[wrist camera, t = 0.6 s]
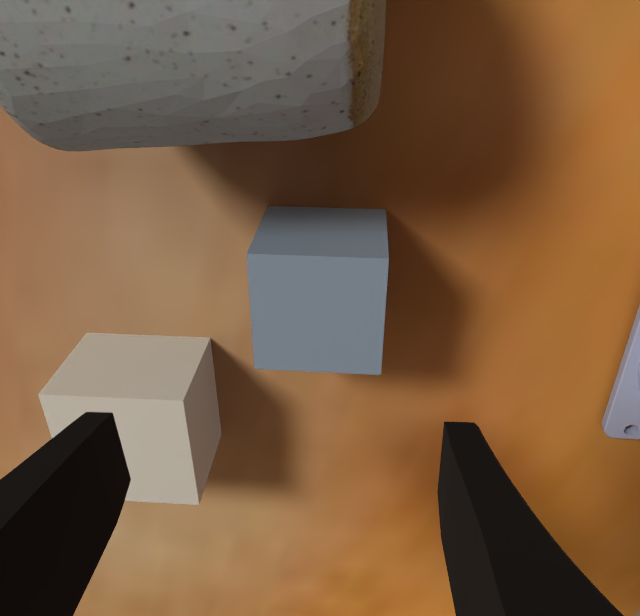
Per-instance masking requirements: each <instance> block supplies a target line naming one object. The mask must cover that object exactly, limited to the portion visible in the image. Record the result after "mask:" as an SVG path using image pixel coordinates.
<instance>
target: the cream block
mask: <svg viewBox="0 0 640 616" xmlns="http://www.w3.org/2000/svg"><path fill="white" fill-rule="evenodd" d="M38 395H39V398H40V401H41V405H42V408H43V411H44V414H45V417H46V420H47V424H48V427H49V430H50V433H51V436H52V438H54V437H55V436H56V435H57V434H58V433H60V432H61V431H62V430H63V429H65V428H66V427H67V426H68V425H70V424H71V423H72V422H73V421H75V420H76V419H77V418H79V417H80V416H81V415H83V414H84V413H85V412H110V413H113V416H114V419H115V423H116V427H117V430H118V434H119V438H120V441H121V445H122V448H123V452H124V456H125V459H126V463H127V467H128V470H129V474H130V478H131V481H130V485H129V488H128V491H127V494H126V498H125V501H140V502H158V503H176V504H194V505H199V504H200V501H201V498H202V495H203V491H204V488H205V485H206V482H207V479H208V476H209V473H210V469H211V466H212V463H213V460H214V457H215V454H216V451H217V447H218V444H219V441H220V438H221V435H222V433H221V424H220V416H219V407H218V399H217V390H216V382H215V373H214V365H213V356H212V347H211V339H210V338H205V337H179V336H154V335H128V334H102V333H86V334H85V335H84V337H83V338H82V339H81V340H80V342H79V343H78V344H77V346H76V347H75V348H74V349H73V351H72V352H71V353H70V355H69V356H68V357H67V358H66V360H65V361H64V362H63V363H62V365H61V366H60V367H59V369H58V370H57V371H56V372H55V374H54V375H53V376H52V378H51V379H50V380H49V381H48V383H47V384H46V385H45V386H44V388H43V389H42V390H41V392H40V393H39V394H38Z"/></svg>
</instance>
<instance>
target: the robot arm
mask: <svg viewBox="0 0 640 616" xmlns="http://www.w3.org/2000/svg"><path fill="white" fill-rule="evenodd" d="M629 425H633V426H632V427H630V428H626V427H627V426H629ZM602 428H603V430H604V432H605V434H606V435H607V436H608V437H611V438H622V439H640V305H639V308H638V311H637V315H636V318H635V321H634V324H633V327H632V330H631V333H630V336H629V339H628V342H627V346H626V349H625V352H624V355H623V358H622V361H621V364H620V367H619V370H618V374H617V377H616V380H615V383H614V386H613V389H612V392H611V395H610V398H609V401H608V405H607V408H606V411H605V414H604V417H603V420H602ZM130 481H131V478H130V474H129V470H128V467H127V463H126V459H125V456H124V452H123V448H122V445H121V441H120V438H119V434H118V430H117V427H116V423H115V419H114V416H113V413H110V412H85V413H84V414H83V415H81V416H80V417H79V418H77V419H76V420H75V421H73V422H72V423H71V424H70V425H68V426H67V427H66V428H65V429H63V430H62V431H61V432H60V433H58V434H57V435H56V436H55V437H54V438H52V439H51V440H50V441H49V442H47V443H46V444H45V445H44V446H42V447H41V448H40V449H39V450H37V451H36V452H35V453H34V454H32V455H31V456H30V457H29V458H27V459H26V460H25V461H24V462H22V463H21V464H20V465H19V466H17V467H16V468H15V469H14V470H12V471H11V472H10V473H9V474H7V475H6V476H5V477H3V478H2V479H1V480H0V616H73V614H74V612H75V610H76V608H77V606H78V604H79V602H80V600H81V598H82V596H83V593H84V591H85V589H86V587H87V585H88V583H89V581H90V579H91V577H92V575H93V573H94V571H95V569H96V567H97V564H98V562H99V560H100V558H101V556H102V554H103V552H104V550H105V548H106V545H107V543H108V541H109V539H110V537H111V535H112V533H113V531H114V528H115V526H116V524H117V521H118V518H119V515H120V513H121V510H122V507H123V504H124V501H125V498H126V494H127V491H128V488H129V485H130ZM438 502H439V516H440V528H441V539H442V544H443V550H444V555H445V560H446V566H447V571H448V576H449V581H450V587H451V592H452V597H453V602H454V608H455V613H456V616H623V615H622V614H621V613H620V612H619V611H618V610H617V609H616V608H615V607H614V606H613V605H612V604H611V603H610V602H609V600H608V599H607V598H606V597H605V596H604V595H603V594H602V593H601V592H600V591H599V590H598V589H597V588H596V587H595V586H594V585H593V584H592V583H591V582H590V580H589V579H588V578H587V577H586V576H585V575H584V574H583V573H582V572H581V571H580V569H579V568H578V567H577V566H576V565H575V564H574V563H573V562H572V560H571V559H570V558H569V557H568V556H567V555H566V553H565V552H564V551H563V550H562V549H561V547H560V546H559V545H558V544H557V543H556V541H555V540H554V539H553V538H552V536H551V535H550V534H549V532H548V531H547V530H546V529H545V527H544V526H543V525H542V524H541V522H540V521H539V520H538V518H537V517H536V516H535V514H534V513H533V512H532V510H531V509H530V508H529V506H528V505H527V503H526V502H525V500H524V499H523V498H522V496H521V495H520V493H519V492H518V490H517V489H516V488H515V486H514V485H513V483H512V482H511V480H510V479H509V477H508V476H507V474H506V473H505V471H504V470H503V468H502V466H501V465H500V463H499V462H498V460H497V459H496V457H495V455H494V454H493V452H492V450H491V449H490V447H489V445H488V443H487V442H486V440H485V438H484V436H483V434H482V433H481V431H480V429H479V427H478V426H477V425H476V424H475V423H469V422H444V430H443V441H442V451H441V462H440V472H439V483H438Z"/></svg>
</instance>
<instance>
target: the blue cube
mask: <svg viewBox="0 0 640 616" xmlns="http://www.w3.org/2000/svg"><path fill="white" fill-rule="evenodd" d="M388 265H389V252H388V235H387V218H386V209H361V208H326V207H291V206H268V207H267V210H266V212H265V214H264V216H263V218H262V221H261V223H260V225H259V227H258V230H257V232H256V234H255V236H254V239H253V241H252V243H251V245H250V247H249V250H248V252H247V266H248V281H249V296H250V311H251V326H252V341H253V356H254V369H267V370H288V371H309V372H329V373H350V374H371V375H381V367H382V353H383V338H384V323H385V309H386V294H387V279H388Z"/></svg>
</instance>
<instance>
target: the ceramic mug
mask: <svg viewBox="0 0 640 616" xmlns="http://www.w3.org/2000/svg"><path fill="white" fill-rule="evenodd" d="M385 22H386V0H0V105H1V106H2V108H3V109H4V110H5V111H6V112H7V113H8V114H9V115H10V116H11V117H12V119H13V120H14V121H15V122H16V123H17V124H18V125H19V126H20V127H21V128H22V129H23V130H25V131H26V132H27V133H28V134H29V135H30V136H32V137H33V138H35V139H36V140H38V141H39V142H41V143H43V144H45V145H48V146H50V147H53V148H55V149H59V150H65V151H90V150H102V149H115V148H142V147H167V146H187V145H201V144H212V143H227V142H254V141H290V140H302V139H307V138H313V137H318V136H323V135H328V134H333V133H338V132H342V131H346V130H349V129H352V128H355V127H358V126H359V125H360V124H362V123H363V122H365V121H366V120H368V118H369V117H370V115H371V114H372V113H373V111H374V110H375V109H376V107H377V106H378V102H379V97H380V93H381V81H382V70H383V60H384V44H385Z"/></svg>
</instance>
